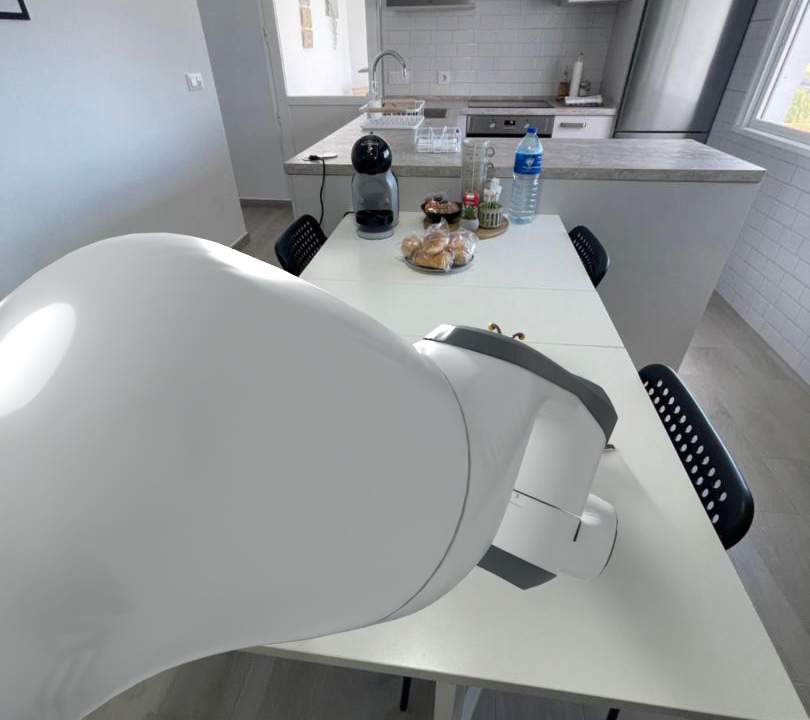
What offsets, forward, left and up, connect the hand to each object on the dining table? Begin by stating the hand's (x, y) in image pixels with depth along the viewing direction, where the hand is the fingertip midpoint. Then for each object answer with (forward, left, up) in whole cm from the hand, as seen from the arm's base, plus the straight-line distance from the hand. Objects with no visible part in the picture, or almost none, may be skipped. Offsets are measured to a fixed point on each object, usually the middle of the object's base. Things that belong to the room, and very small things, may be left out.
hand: (354, 434), depth 55 cm
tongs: (+33, -15, -17) cm, 40 cm away
